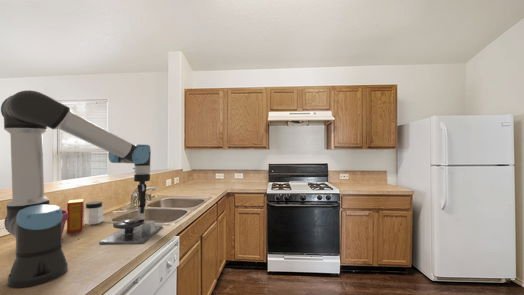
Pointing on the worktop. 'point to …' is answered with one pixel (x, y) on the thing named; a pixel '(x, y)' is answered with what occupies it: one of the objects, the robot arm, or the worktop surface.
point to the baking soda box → (75, 215)
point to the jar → (93, 213)
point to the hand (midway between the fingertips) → (141, 218)
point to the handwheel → (128, 224)
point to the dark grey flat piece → (133, 234)
